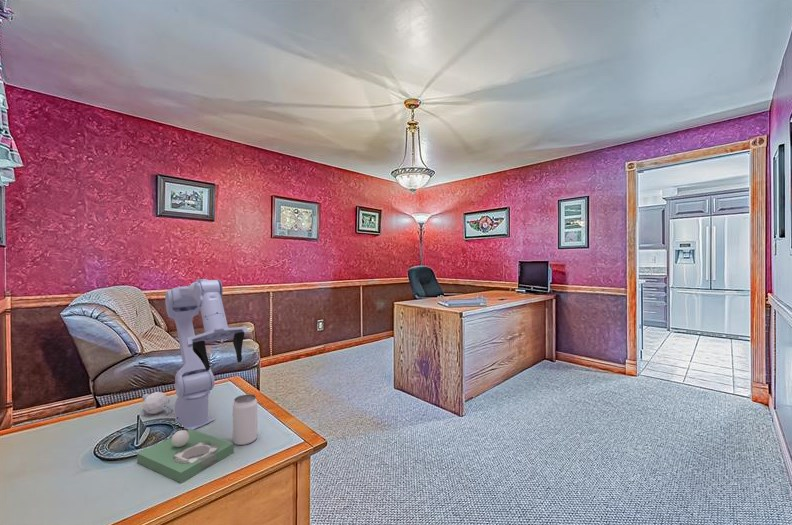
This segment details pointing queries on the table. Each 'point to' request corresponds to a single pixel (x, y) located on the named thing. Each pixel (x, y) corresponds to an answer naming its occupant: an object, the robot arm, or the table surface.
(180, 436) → the ball
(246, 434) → the can
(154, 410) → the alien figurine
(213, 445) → the putting mat
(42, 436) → the table surface
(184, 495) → the table surface
